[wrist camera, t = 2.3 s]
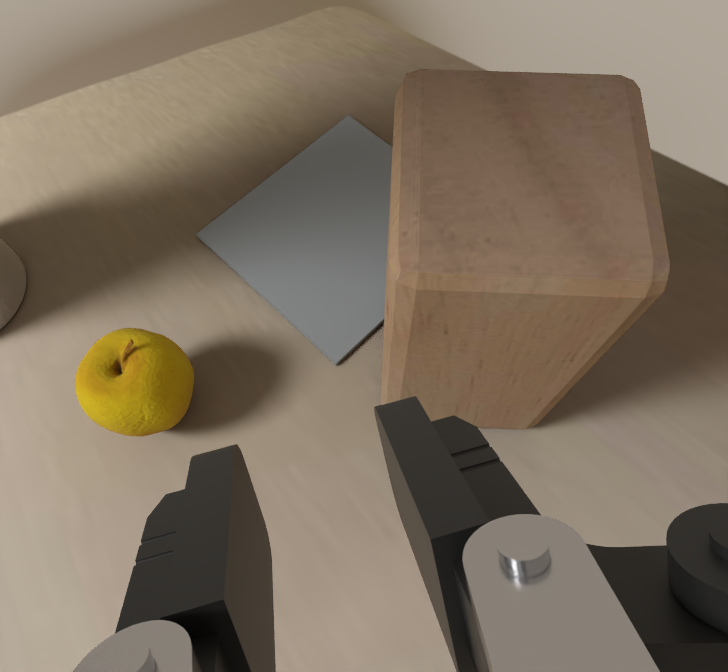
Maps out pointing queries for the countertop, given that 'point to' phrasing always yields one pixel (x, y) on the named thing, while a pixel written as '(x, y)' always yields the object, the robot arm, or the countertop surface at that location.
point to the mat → (317, 238)
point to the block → (515, 238)
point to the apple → (135, 382)
